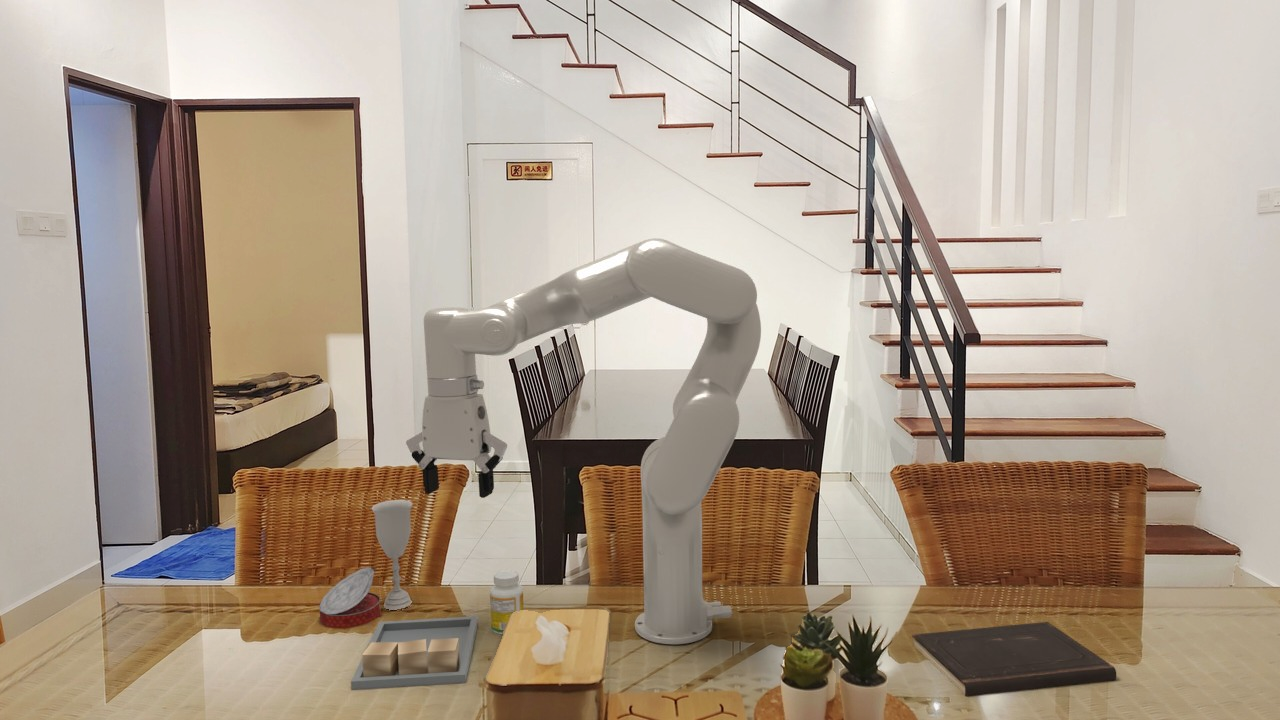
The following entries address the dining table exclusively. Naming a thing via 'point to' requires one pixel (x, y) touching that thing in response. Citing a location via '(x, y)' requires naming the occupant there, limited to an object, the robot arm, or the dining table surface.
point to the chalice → (394, 543)
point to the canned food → (350, 602)
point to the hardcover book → (1012, 658)
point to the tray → (429, 631)
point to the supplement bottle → (505, 598)
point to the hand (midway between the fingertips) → (458, 493)
